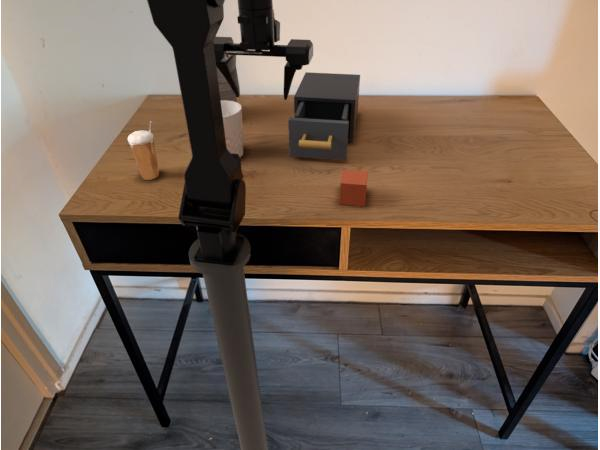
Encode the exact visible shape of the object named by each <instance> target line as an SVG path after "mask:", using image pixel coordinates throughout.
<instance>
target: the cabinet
mask: <svg viewBox="0 0 600 450" xmlns="http://www.w3.org/2000/svg"><path fill="white" fill-rule="evenodd" d="M360 84H361V74H353V73H352V74H350V73H328V72H305V73H304V75H303V77H302V79H301V81H300V83H299V86H298V88H297V90H296V92H295V94H294V96H293V104H294V105H293V108H294V110H293V111H294V112H293V113H294V116H295V113H296V111H297V109H298V106H299V104H300V102H301V101H319V102H337V103H350V114H349V129H348V143H350V144H351V143H354V137H355V132H356V125H357V119H358V113H359V112H358V111H359V98H360V86H361V85H360Z"/></svg>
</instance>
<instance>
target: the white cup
mask: <svg viewBox="0 0 600 450" xmlns="http://www.w3.org/2000/svg"><path fill="white" fill-rule="evenodd" d="M221 108H222V116H223V124H224V131H225V139H226V147H227V150H228V151H229V152H230V153H233V154H238V155H239V157H240V158H241V157H243V155H244V126H243V125H244V123H243V108H242V105H241V103H238V102H234V101H221Z"/></svg>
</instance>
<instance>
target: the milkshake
mask: <svg viewBox="0 0 600 450" xmlns="http://www.w3.org/2000/svg"><path fill="white" fill-rule="evenodd" d="M154 136H155V135H154V134H153V133H152V121H149V125H148V130H145V129H144V130H143V129H142V130H135V131H133V132H132V133H130V134H129V135H128V136H127V143H128V146H129V147H130V150H131V153H132V155H133V158H134V160H135V163H136V165H137V168H138V171H139V173H140V176H141V178H142V179H143V180H144V181H152V180H155V179H157V178H158V177H159V176H160V170H159V169H160V168H159V164H158V163H159V162H158V158H157V157H158V156H157V151H156V143H155V137H154Z"/></svg>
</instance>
